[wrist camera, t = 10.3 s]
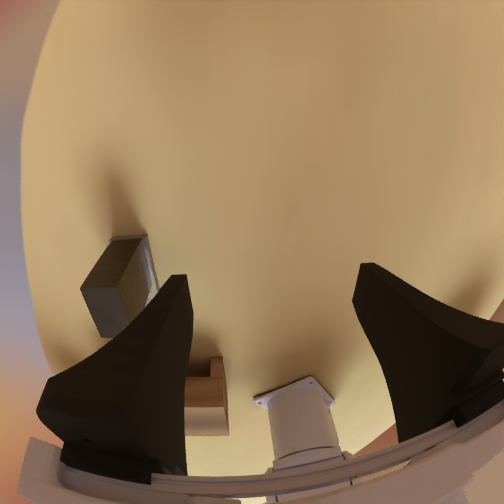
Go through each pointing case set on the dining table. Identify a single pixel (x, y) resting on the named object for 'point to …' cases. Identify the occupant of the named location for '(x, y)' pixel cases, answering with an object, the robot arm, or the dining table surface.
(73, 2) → the dining table surface
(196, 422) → the walnut u-shaped block
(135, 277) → the brown-topped white block
